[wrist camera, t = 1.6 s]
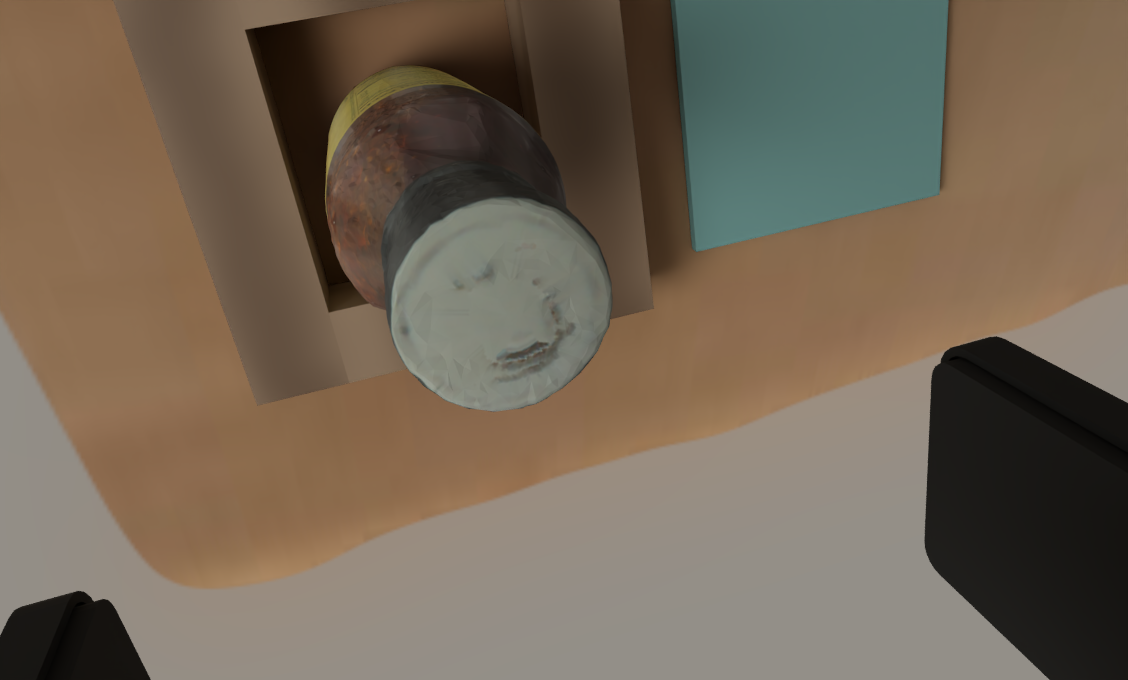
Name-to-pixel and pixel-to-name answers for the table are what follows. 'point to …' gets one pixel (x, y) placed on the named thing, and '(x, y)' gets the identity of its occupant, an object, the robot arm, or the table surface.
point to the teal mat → (806, 110)
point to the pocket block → (273, 195)
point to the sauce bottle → (463, 239)
